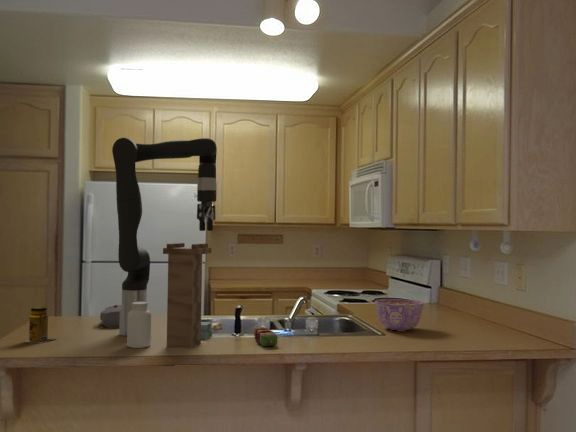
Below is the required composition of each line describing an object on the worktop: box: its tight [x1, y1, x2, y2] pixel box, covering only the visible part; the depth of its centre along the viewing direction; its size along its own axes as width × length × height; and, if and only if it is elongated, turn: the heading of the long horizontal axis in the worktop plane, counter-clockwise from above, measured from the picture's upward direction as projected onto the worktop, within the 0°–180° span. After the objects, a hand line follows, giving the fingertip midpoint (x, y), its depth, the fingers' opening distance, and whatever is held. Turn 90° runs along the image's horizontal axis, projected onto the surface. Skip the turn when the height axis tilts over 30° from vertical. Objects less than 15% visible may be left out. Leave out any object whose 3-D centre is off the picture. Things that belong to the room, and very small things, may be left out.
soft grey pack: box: [99, 304, 122, 329], centre depth 232 cm, size 15×8×20 cm
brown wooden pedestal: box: [162, 242, 212, 349], centre depth 194 cm, size 13×13×36 cm
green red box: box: [253, 326, 278, 347], centre depth 197 cm, size 21×6×5 cm, turn 14°
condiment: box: [23, 306, 55, 344], centre depth 196 cm, size 7×8×12 cm
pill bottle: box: [126, 301, 152, 349], centre depth 189 cm, size 8×8×15 cm
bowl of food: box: [374, 298, 425, 332], centre depth 227 cm, size 20×20×12 cm
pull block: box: [201, 321, 223, 340], centre depth 215 cm, size 22×6×5 cm, turn 168°
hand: (206, 230), depth 215 cm, fingers open, 8 cm apart
